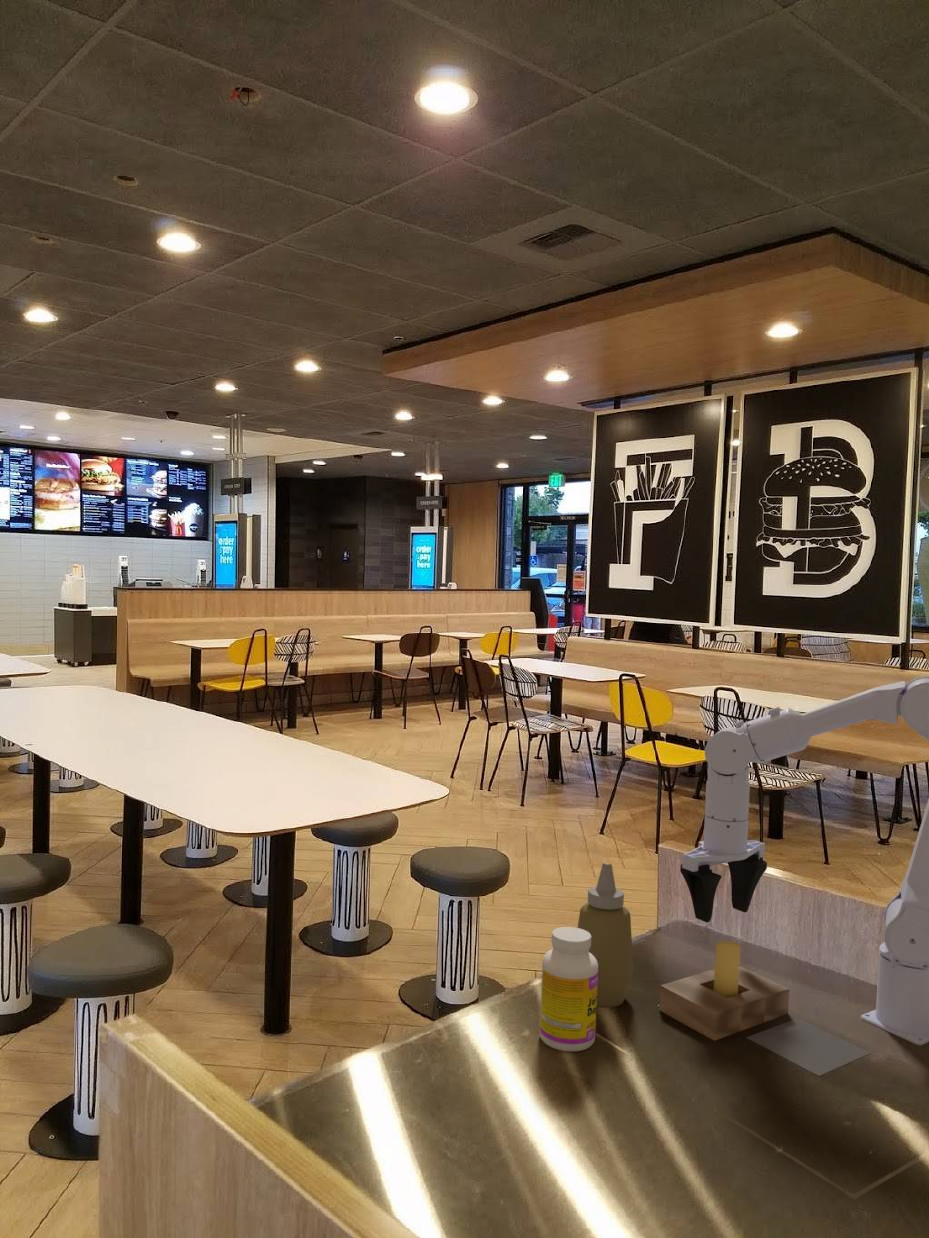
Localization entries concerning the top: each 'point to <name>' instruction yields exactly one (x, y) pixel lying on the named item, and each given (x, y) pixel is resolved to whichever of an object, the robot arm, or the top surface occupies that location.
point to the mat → (808, 1046)
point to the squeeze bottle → (609, 938)
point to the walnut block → (723, 1003)
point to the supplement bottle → (569, 991)
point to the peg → (727, 968)
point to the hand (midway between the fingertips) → (721, 914)
